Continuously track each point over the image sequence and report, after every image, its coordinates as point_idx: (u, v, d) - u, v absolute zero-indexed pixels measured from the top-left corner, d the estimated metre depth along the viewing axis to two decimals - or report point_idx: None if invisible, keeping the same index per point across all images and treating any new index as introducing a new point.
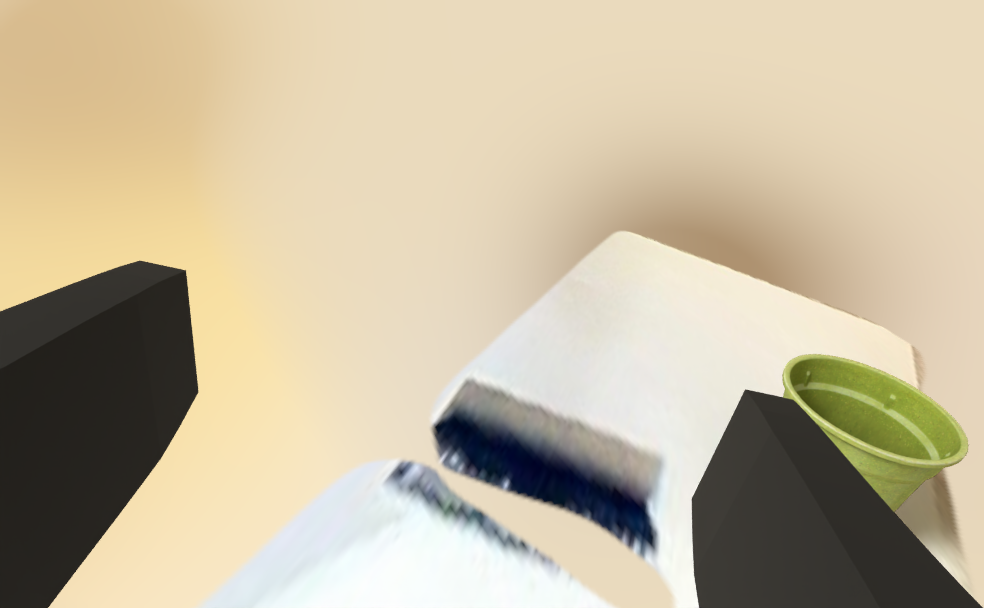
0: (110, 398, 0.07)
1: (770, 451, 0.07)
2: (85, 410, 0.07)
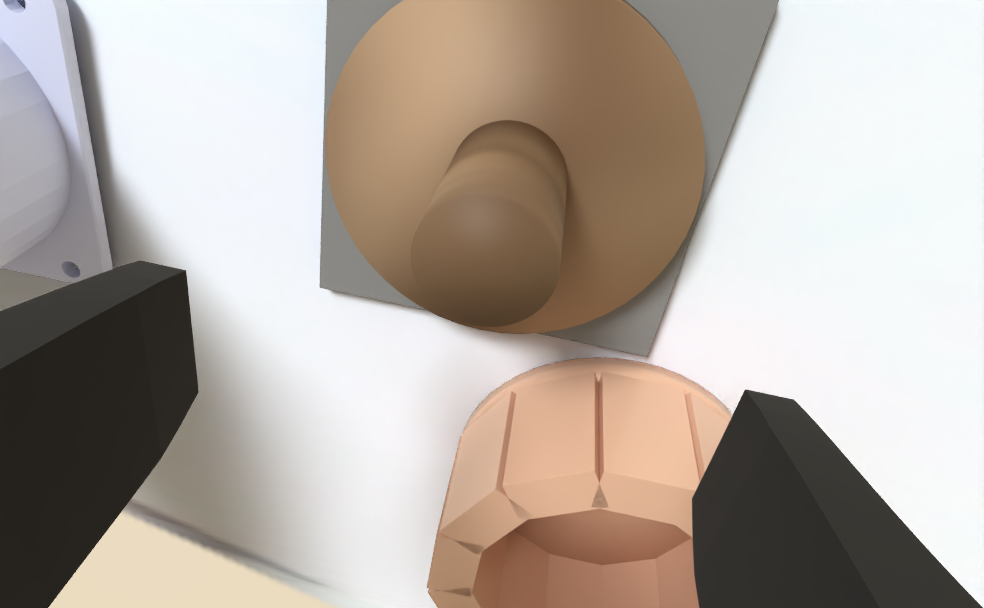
0: (110, 398, 0.07)
1: (770, 451, 0.07)
2: (86, 409, 0.07)
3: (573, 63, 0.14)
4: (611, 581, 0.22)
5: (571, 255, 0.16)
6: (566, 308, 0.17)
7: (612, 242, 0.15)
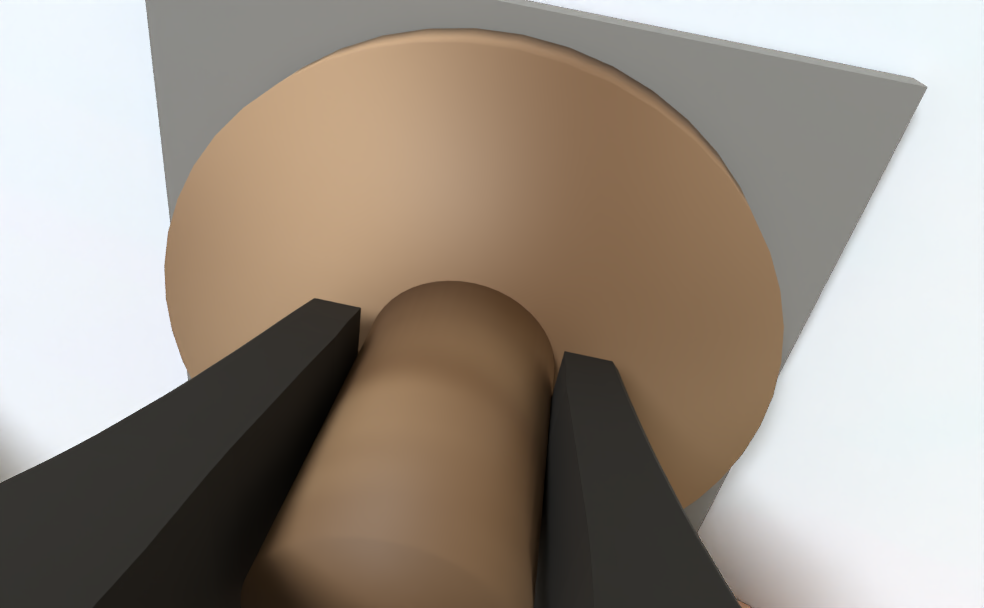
0: (308, 441, 0.07)
1: (563, 406, 0.07)
2: (293, 455, 0.07)
3: (562, 200, 0.08)
4: None
5: None
6: None
7: None
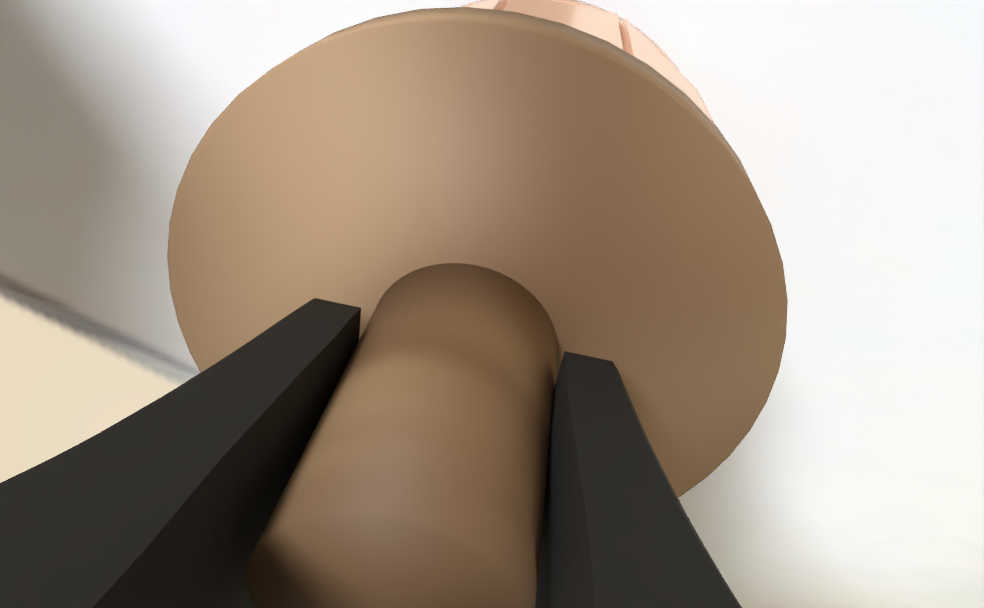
0: None
1: (563, 407, 0.07)
2: (294, 454, 0.07)
3: (560, 178, 0.08)
4: None
5: None
6: None
7: None
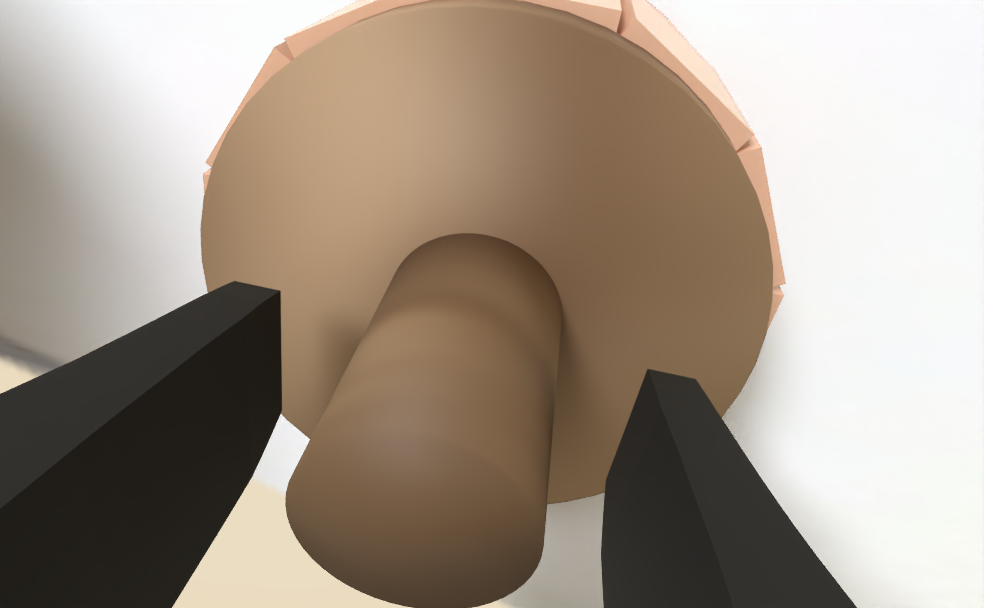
0: (217, 421, 0.07)
1: (658, 427, 0.07)
2: (198, 434, 0.07)
3: (565, 152, 0.09)
4: None
5: (571, 412, 0.11)
6: (566, 477, 0.12)
7: (631, 397, 0.10)
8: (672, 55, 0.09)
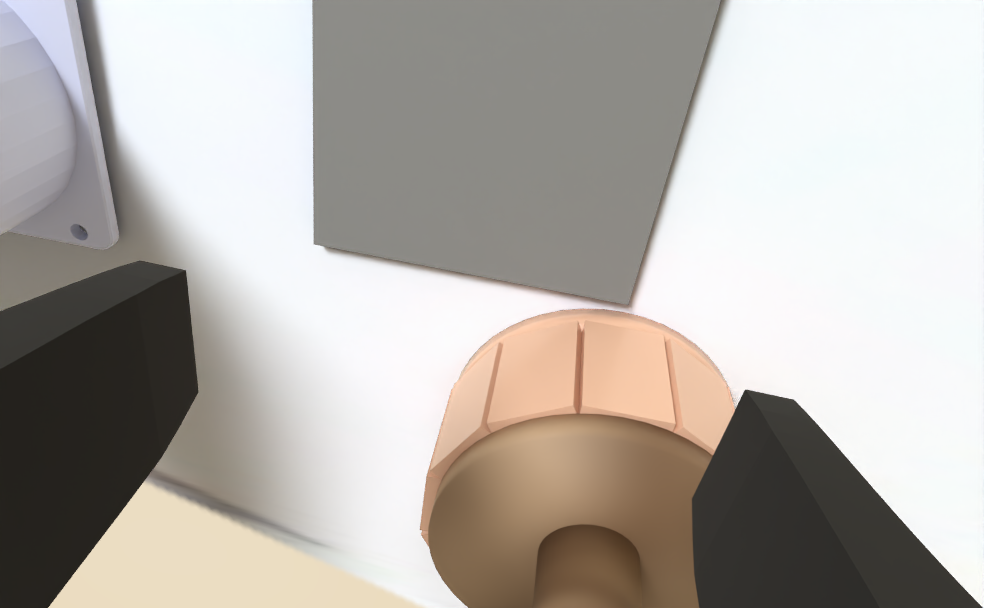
0: (110, 398, 0.07)
1: (770, 451, 0.07)
2: (85, 409, 0.07)
3: (645, 494, 0.16)
4: None
5: None
6: None
7: (679, 601, 0.18)
8: (703, 442, 0.16)
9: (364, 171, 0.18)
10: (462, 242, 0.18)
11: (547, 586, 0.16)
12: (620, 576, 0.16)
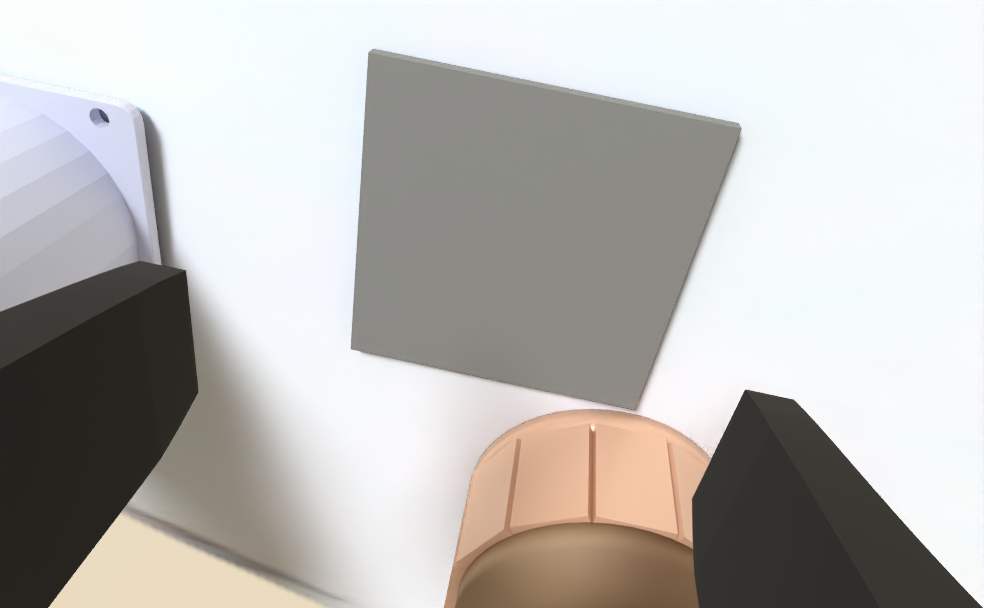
0: (110, 398, 0.07)
1: (770, 450, 0.07)
2: (85, 409, 0.07)
3: (650, 594, 0.18)
4: None
5: None
6: None
7: None
8: None
9: (400, 291, 0.20)
10: (487, 352, 0.20)
11: None
12: None
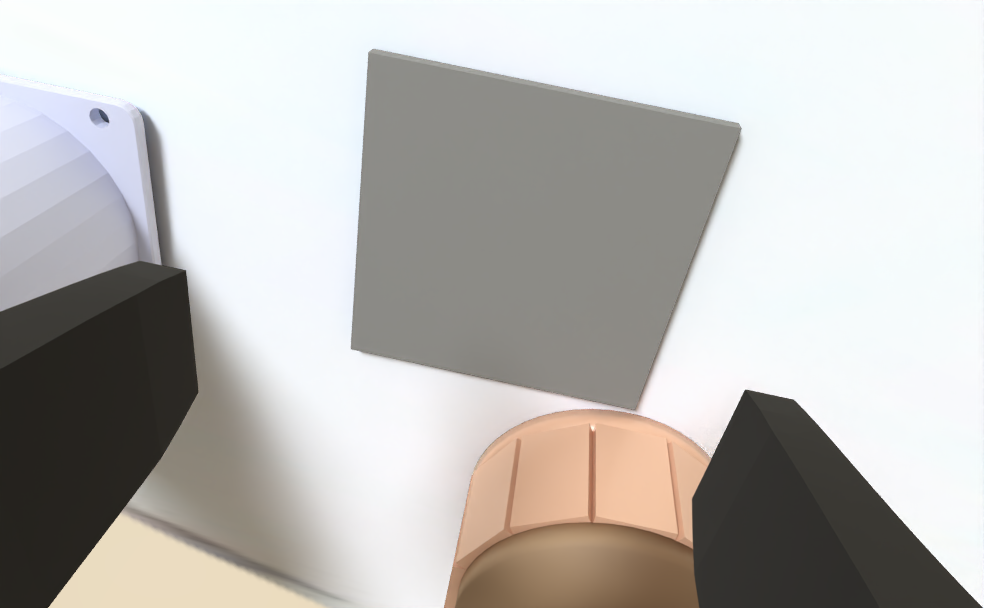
0: (110, 398, 0.07)
1: (770, 450, 0.07)
2: (85, 409, 0.07)
3: (650, 594, 0.18)
4: None
5: None
6: None
7: None
8: None
9: (400, 291, 0.20)
10: (487, 352, 0.20)
11: None
12: None
